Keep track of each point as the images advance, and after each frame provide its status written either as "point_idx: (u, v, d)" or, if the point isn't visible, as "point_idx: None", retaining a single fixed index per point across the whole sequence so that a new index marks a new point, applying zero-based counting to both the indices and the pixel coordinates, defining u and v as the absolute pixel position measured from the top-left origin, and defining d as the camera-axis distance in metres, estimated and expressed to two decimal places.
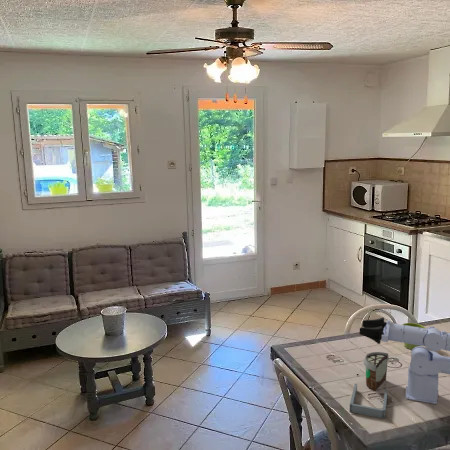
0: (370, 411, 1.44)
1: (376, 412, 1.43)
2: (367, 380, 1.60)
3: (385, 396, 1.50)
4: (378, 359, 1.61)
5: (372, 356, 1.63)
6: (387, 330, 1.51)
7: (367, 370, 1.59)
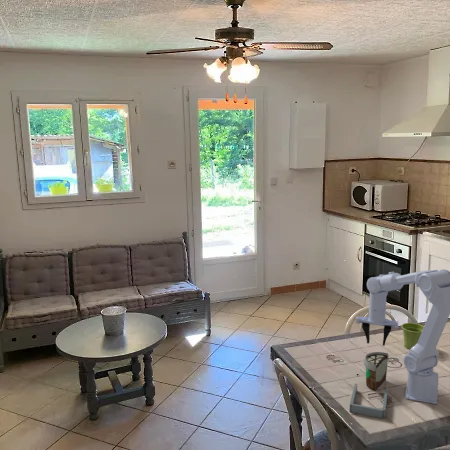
0: (370, 411, 1.44)
1: (376, 412, 1.43)
2: (367, 380, 1.60)
3: (385, 396, 1.50)
4: (378, 359, 1.61)
5: (371, 356, 1.63)
6: None
7: (367, 370, 1.59)
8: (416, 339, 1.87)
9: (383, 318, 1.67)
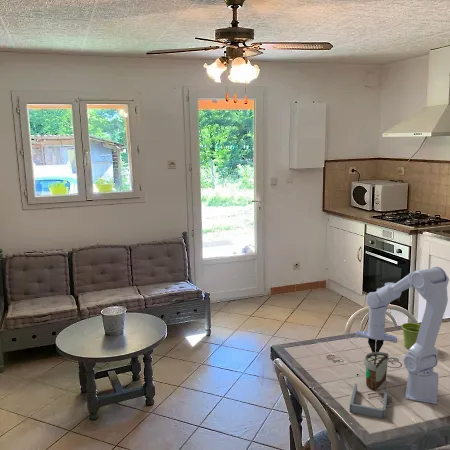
0: (370, 411, 1.44)
1: (376, 412, 1.43)
2: (367, 380, 1.60)
3: (385, 396, 1.50)
4: (378, 359, 1.61)
5: (372, 356, 1.63)
6: None
7: (367, 370, 1.59)
8: (416, 339, 1.87)
9: (382, 333, 1.68)
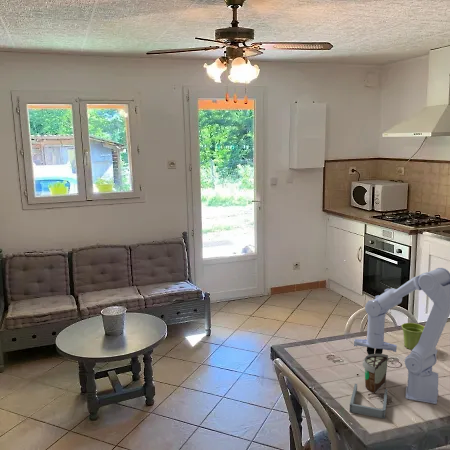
0: (370, 411, 1.44)
1: (376, 412, 1.43)
2: (366, 382, 1.59)
3: (385, 396, 1.50)
4: (377, 361, 1.60)
5: (371, 358, 1.62)
6: None
7: (366, 372, 1.58)
8: (416, 339, 1.87)
9: (381, 341, 1.64)
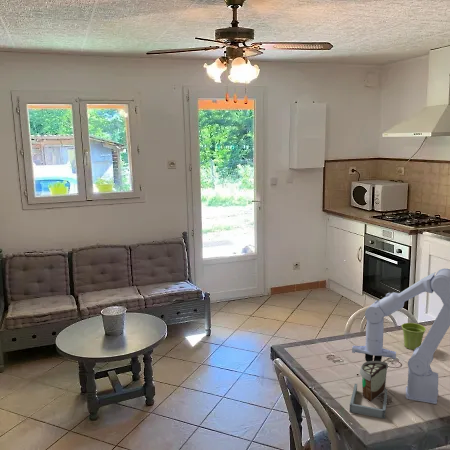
0: (370, 411, 1.44)
1: (376, 412, 1.43)
2: (363, 389, 1.54)
3: (385, 396, 1.50)
4: (375, 368, 1.54)
5: (369, 365, 1.57)
6: None
7: (363, 379, 1.53)
8: (416, 339, 1.87)
9: (380, 348, 1.58)
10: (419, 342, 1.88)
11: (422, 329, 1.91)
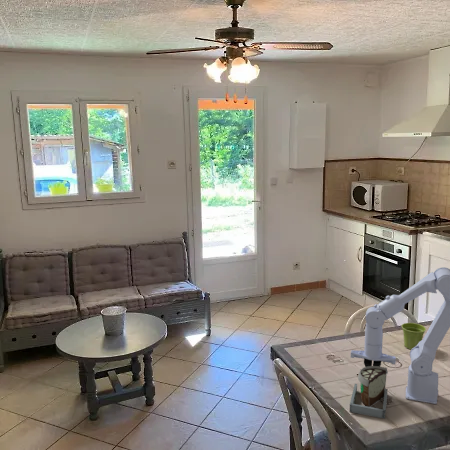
0: (370, 411, 1.44)
1: (376, 412, 1.43)
2: (361, 395, 1.51)
3: (385, 396, 1.50)
4: (374, 374, 1.51)
5: (368, 370, 1.53)
6: None
7: (361, 384, 1.50)
8: (416, 339, 1.87)
9: (379, 353, 1.55)
10: None
11: (422, 329, 1.91)
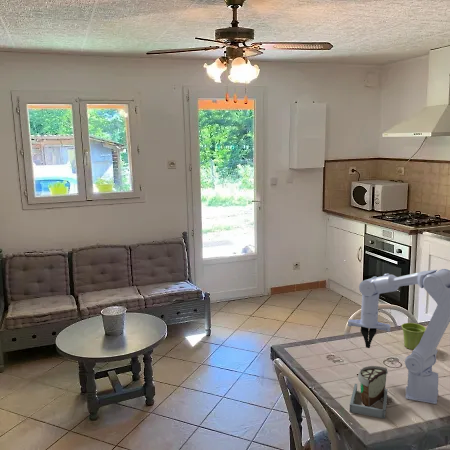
0: (370, 411, 1.44)
1: (376, 412, 1.43)
2: (361, 395, 1.51)
3: (385, 396, 1.50)
4: (374, 374, 1.51)
5: (368, 370, 1.53)
6: None
7: (361, 384, 1.50)
8: (416, 339, 1.87)
9: (375, 321, 1.64)
10: (419, 342, 1.88)
11: (422, 329, 1.91)
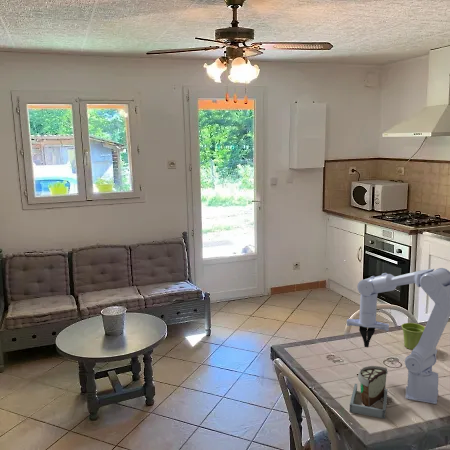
0: (370, 411, 1.44)
1: (376, 412, 1.43)
2: (361, 395, 1.51)
3: (385, 396, 1.50)
4: (374, 374, 1.51)
5: (368, 370, 1.53)
6: None
7: (361, 384, 1.50)
8: (416, 339, 1.87)
9: (374, 320, 1.65)
10: None
11: (422, 329, 1.91)
